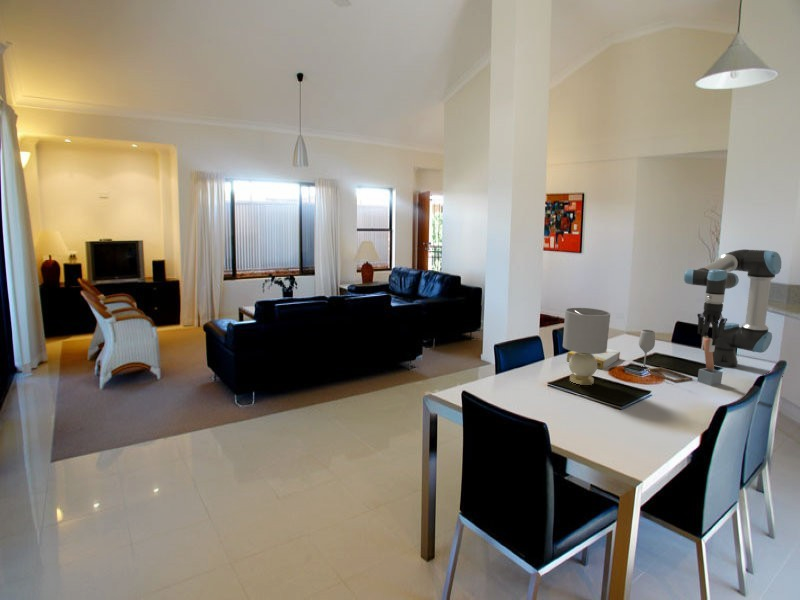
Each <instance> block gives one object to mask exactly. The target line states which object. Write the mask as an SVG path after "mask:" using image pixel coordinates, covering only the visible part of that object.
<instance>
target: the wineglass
mask: <svg viewBox="0 0 800 600" xmlns="http://www.w3.org/2000/svg"><path fill="white" fill-rule="evenodd" d="M655 345H656V334H655V331H654V330H651V329H641V332H640V336H639V340H638V346H639V348H640V350H641V351H643V352H644V358H643V365H642V366H643V367H647V366H646V361H647V360H646V359H647V353H649V352H650V351H652V350H653V349H654V347H655Z"/></svg>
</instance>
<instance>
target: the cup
mask: <svg viewBox="0 0 800 600" xmlns="http://www.w3.org/2000/svg"><path fill="white" fill-rule="evenodd" d="M722 380H723V371H720V370H717V369H715V368H714V369H713V370H707V369H706V367H704V368H699V369H698V372H697V380H696V381H697V383H700V384H704V385H705V386H709V387H714V386H719V385H722Z"/></svg>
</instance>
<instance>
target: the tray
mask: <svg viewBox="0 0 800 600" xmlns="http://www.w3.org/2000/svg"><path fill="white" fill-rule="evenodd" d="M644 370H646V371H648V372H649V373H650V374H649V375H651V376H656V377H658V378H660V379H661V381H662V382H664V380H665V381H666V380H667V381H669V382H672V383H680V382H688V381H692V380H693V377H691V376H688V375H685V374H682V373H679V372H675V371H674V370H669V369H667V368H664V367H661V366H660V367H652V368H650V369H644ZM649 370H650V371H649ZM665 372H666V373H669V374H672V375H675V376H678V377H680V378H676V379H673V378H671V377H669V376H665V375H662V374H660V373H665ZM663 379H664V380H663ZM667 381H666V383H667V384H671V385H674V386H675V384H672V383H669V382H667Z"/></svg>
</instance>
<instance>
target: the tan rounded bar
mask: <svg viewBox="0 0 800 600" xmlns="http://www.w3.org/2000/svg"><path fill="white" fill-rule="evenodd" d="M711 338H712V337H709V336H708V337H706V338H703V342H704V350H703V351H704V358H705V359H704V360H706V361H705V368H706V369H707V370H713V369H714V370H715V365H714V362H713V352H709V346H710V339H711Z"/></svg>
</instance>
